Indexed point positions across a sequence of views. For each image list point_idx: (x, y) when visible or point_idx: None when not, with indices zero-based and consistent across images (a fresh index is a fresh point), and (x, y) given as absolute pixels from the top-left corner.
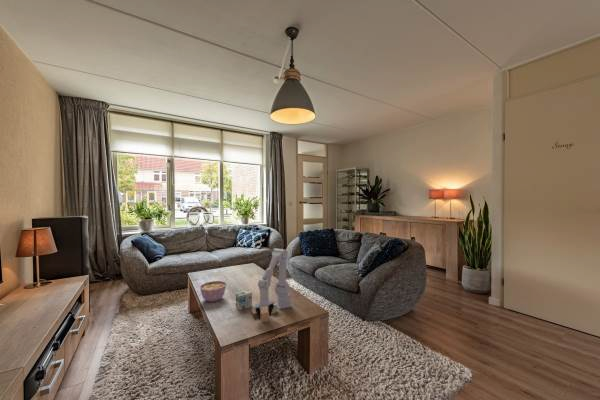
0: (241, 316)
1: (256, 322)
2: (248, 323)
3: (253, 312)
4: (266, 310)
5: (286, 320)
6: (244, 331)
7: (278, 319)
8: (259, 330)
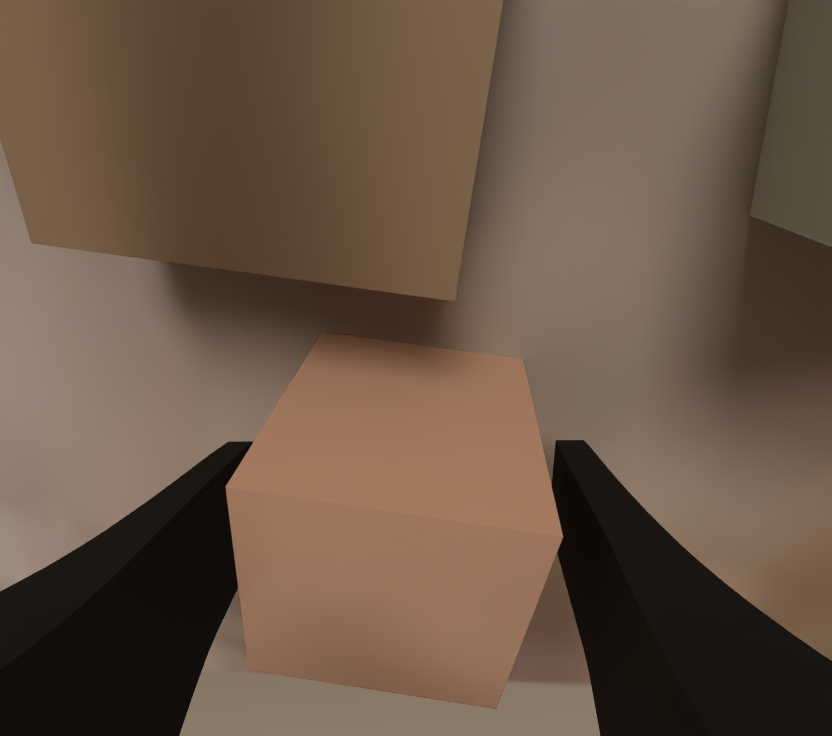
0: None
1: (213, 430)
2: (35, 385)
3: (22, 141)
4: (496, 572)
5: (792, 631)
6: (3, 560)
7: (693, 545)
8: (238, 632)
